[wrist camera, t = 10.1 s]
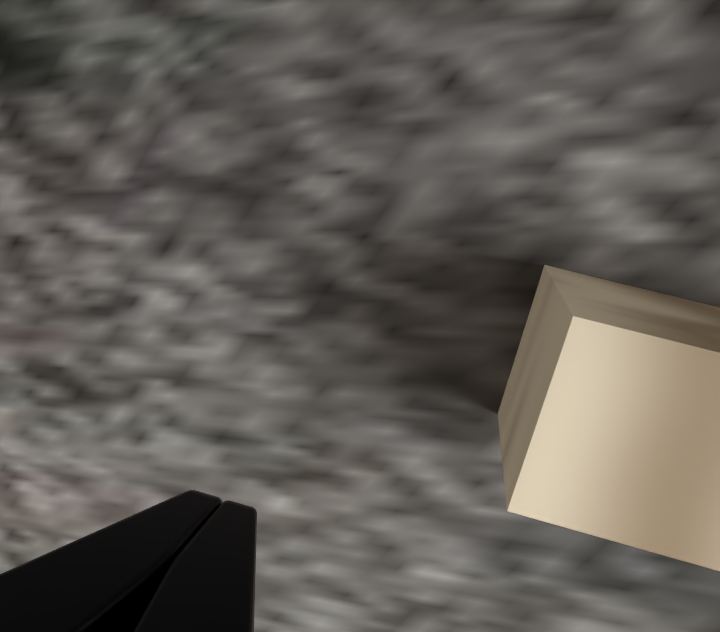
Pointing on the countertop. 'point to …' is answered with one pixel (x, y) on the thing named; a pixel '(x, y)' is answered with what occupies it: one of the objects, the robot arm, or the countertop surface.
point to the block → (617, 416)
